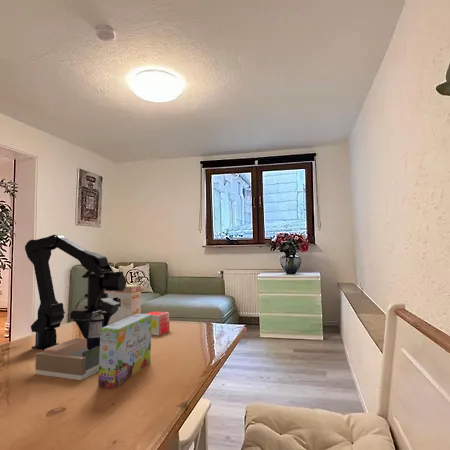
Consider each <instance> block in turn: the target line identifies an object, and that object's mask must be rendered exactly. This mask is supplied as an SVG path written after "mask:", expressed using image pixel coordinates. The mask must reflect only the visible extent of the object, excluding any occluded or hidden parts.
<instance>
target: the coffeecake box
mask: <svg viewBox="0 0 450 450" xmlns="http://www.w3.org/2000/svg"><path fill="white" fill-rule="evenodd" d="M105 293H107V294H108V298H110V299H111V298H112V299H114V298H115V297H119V298H121V306H120V307H118V310H117V312H116V313H114V314H113V315H112V316H111V317H110V320H109V323H108V325H110V324H113V323H115V322H118V321H120V320H123V319H125V318H128V317H130V316H133V315H135V314H142V313H141V311H142V310H141V308H142V304H141V303H142V302H141V301H142V294H141V293H142V286H141V284H127V283H126V287H125V289H124V290H123V291H106V290H105ZM108 325H107V326H108Z"/></svg>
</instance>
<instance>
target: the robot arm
mask: <svg viewBox="0 0 450 450" xmlns="http://www.w3.org/2000/svg"><path fill="white" fill-rule="evenodd" d="M56 249H59V250H60V251H63V252H64V253H65V254H68V255H69V256H70V257H72V258H74V259H76V260H78V261H79V263H80V265H81V266H82V267H83V268H84V269H86V270H87V271H85V273H84V274H83V275H82V276H81V277H82V278H83V279H87V293H85V294H84V298H87V299H86V300H87V301H86V303H87V304H86V305H84V307H83V308H78V309H73V310H72V311H71V312H70V313H69V319H70V320H72V321H73V322H75V324H76V325H77V327H78V328H79V331H80V333H81V334H82V336H83V339H88V334H89V323H90V322H91V321H92V320H93V319H90V318H91V317H92V315H93V314H103V317H104V327H105V326H107V325H108V323H109V320H110V317H111V316H112V315H113V314H114V313H116V312H117V310H118V307H120V306H121V298H119V297H115V298H114V299H112V298H111V299H110V298H108V294H107V293H105V290H106V291H123V290H124V289H125V287H126V284H127V279H126V277H125V275H124V271H121V270H120V271H115V270H113V268H112V267H111V265H110V263H109V261H108V258H107V257H106V256H105V255H103V254H100V253H98V252H93V251H90V250H87V249H85V248H84V247H82V246H80V245H79V244H77V243H75V242H74V241H72V240H70V239H68V238H66V237H65V236H64V235H63V234H52V235H49V236H46V237H45V236H44V237H42V238H39V239H30V240H28V241H27V242H26V244H24V251H25V253H26V256H27V258H28V260H29V261H30V262H31V263H32V265H33V268H34V274H35V280H36V285H37V289H38V296H39V297H38V298H39V301H40V303H39V306H38V310H37V319H36V320H34V322H33V323H32V324H30V330H31V332H32V333H35V343H34V344H35V345H33V346H31V349H35V350H36V349H38V350H44V349H47V348H50V347H52V346H55V345H58V344H60V343H58V342H57V335H58V334H57V328H59V327H61V323H62V321H63V320H64V318H65V314H66V312H65V310H64V303H63V302H58V300H57V299H56V295H55V291H54V290H55V289H54V284H53V279H52V273H51V268H50V267H51V266H50V263H49V261H50V258H51V256H52V251H54V250H56Z"/></svg>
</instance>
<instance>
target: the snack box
mask: <svg viewBox="0 0 450 450" xmlns="http://www.w3.org/2000/svg"><path fill="white" fill-rule="evenodd" d="M151 322H152V314H147V313H141V314H135V315H133V316H130V317H128V318H125V319H123V320H120V321H118V322H115V323H113V324H110V325H108V326H105V327H103V328H101V331H100V356H99V371H98V380H97V381H98V385H97V387H100V388H106V389H114V390H115V389H117V388H118V387H120V385H122V384H123V383H125V382H126V381H127V380H129V379H130V378H131V377H133V376H134V375H135V374H137V373H138V372H139V371H140V370H142V369H143V368H144V367H146V366H147V365H149V364H150V363H151V359H152V357H151V351H152V349H151V348H152V347H151V346H152V334H151Z"/></svg>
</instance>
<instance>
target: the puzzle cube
mask: <svg viewBox="0 0 450 450" xmlns="http://www.w3.org/2000/svg"><path fill="white" fill-rule="evenodd" d="M146 314H152V322H151V335H154V336H155V335H156V336H161V335H163V334H165V333H168V332H170V312H169V311H156V310H155V311H150V312H148V313H146Z"/></svg>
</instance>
